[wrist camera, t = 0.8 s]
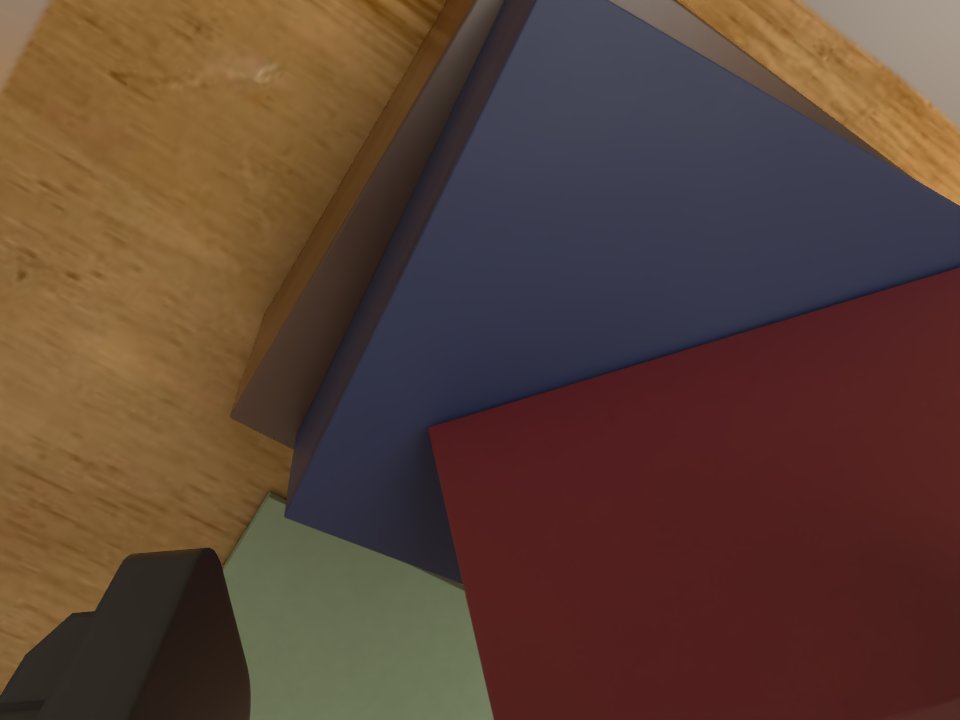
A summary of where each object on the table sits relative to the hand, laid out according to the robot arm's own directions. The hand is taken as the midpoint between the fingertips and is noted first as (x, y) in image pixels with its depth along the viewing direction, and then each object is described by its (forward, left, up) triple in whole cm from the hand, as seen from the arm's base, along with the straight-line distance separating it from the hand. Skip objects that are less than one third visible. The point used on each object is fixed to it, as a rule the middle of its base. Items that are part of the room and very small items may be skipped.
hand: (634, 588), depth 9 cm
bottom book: (+4, +3, -13) cm, 14 cm away
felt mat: (+12, -13, -22) cm, 28 cm away
